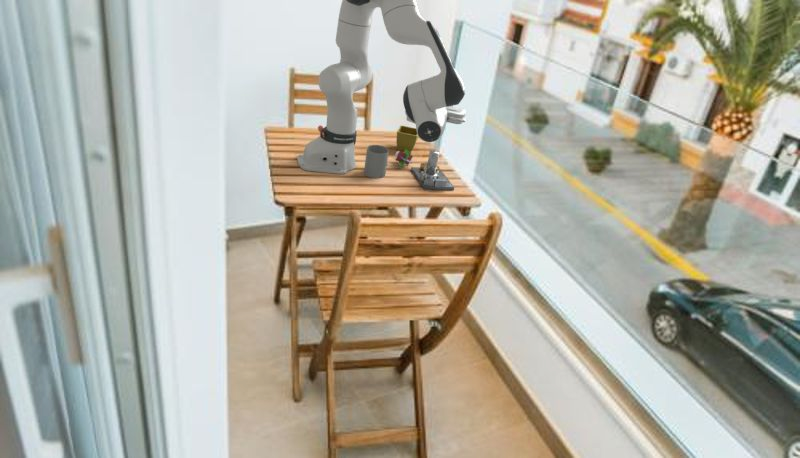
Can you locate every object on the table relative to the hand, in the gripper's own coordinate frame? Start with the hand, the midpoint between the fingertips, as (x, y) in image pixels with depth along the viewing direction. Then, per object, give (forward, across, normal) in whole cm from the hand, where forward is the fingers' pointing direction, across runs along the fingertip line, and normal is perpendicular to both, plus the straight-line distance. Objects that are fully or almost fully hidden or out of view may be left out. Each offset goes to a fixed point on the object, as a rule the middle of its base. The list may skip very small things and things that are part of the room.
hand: (437, 104), depth 179 cm
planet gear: (+6, -2, +30) cm, 31 cm away
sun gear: (+14, -2, +32) cm, 35 cm away
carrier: (+8, -3, +32) cm, 33 cm away
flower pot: (+34, +11, +32) cm, 48 cm away
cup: (+4, +19, +32) cm, 37 cm away
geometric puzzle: (+17, +9, +32) cm, 38 cm away
